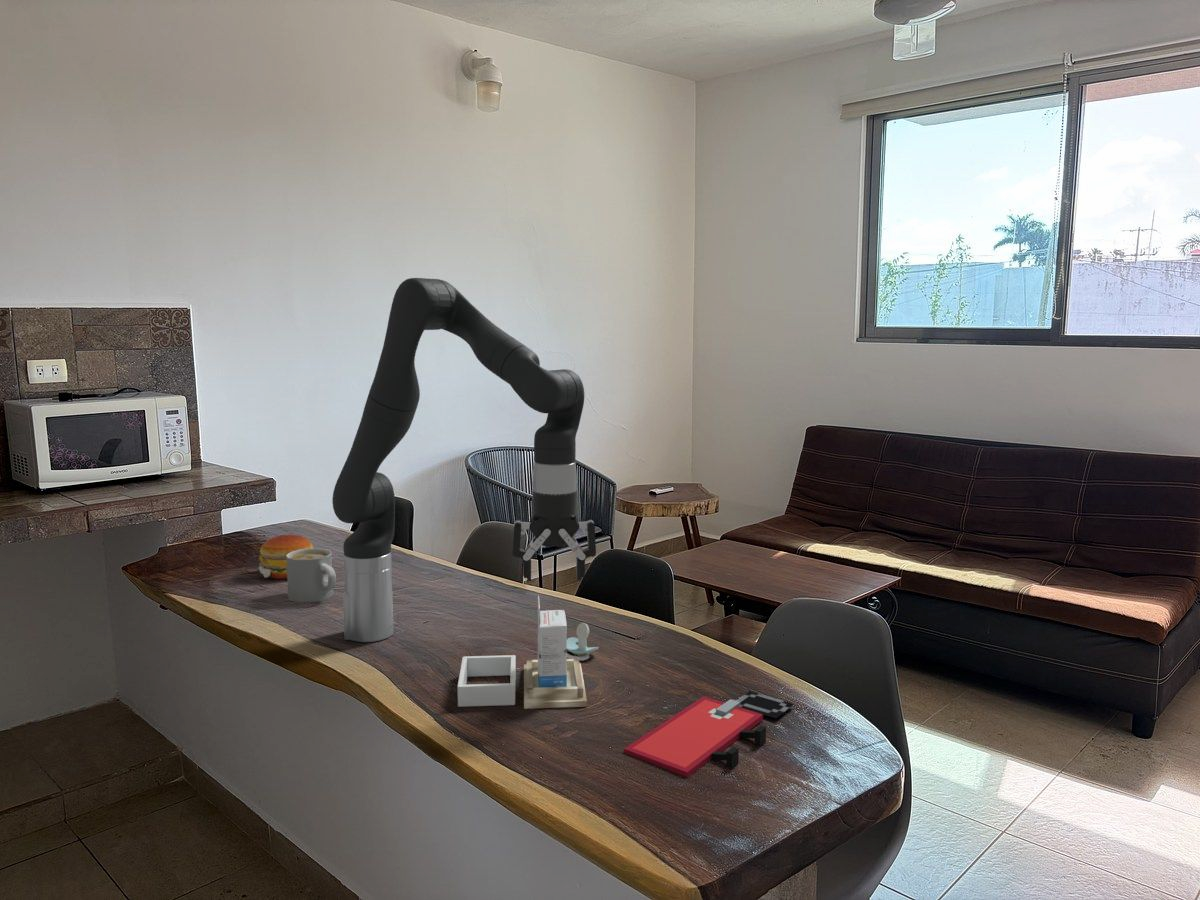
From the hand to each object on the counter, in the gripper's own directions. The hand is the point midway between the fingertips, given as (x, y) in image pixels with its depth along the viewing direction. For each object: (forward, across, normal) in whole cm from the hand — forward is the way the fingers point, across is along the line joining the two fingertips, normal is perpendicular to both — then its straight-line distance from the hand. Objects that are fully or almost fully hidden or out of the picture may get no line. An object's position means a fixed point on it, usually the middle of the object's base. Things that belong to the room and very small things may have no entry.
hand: (553, 579), depth 149 cm
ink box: (+19, 0, 0) cm, 19 cm away
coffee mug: (+20, -53, +53) cm, 78 cm away
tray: (+20, 0, 0) cm, 20 cm away
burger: (+21, -64, +72) cm, 99 cm away
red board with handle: (+20, +26, -18) cm, 37 cm away
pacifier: (+20, +5, +14) cm, 25 cm away
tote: (+20, -11, 0) cm, 23 cm away
